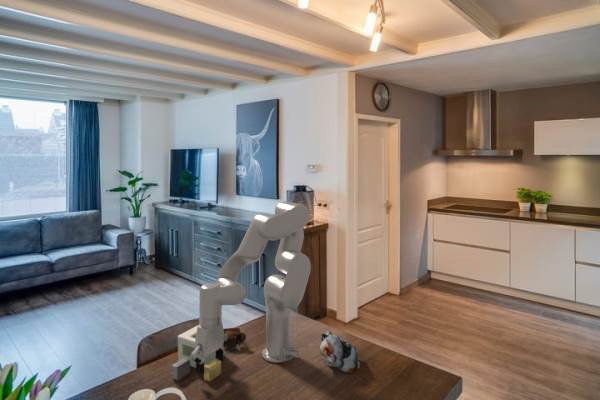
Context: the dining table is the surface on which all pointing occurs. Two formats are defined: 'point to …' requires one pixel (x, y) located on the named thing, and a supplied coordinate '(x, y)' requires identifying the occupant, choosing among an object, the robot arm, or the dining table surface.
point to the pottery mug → (231, 338)
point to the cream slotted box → (191, 347)
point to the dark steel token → (180, 369)
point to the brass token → (212, 369)
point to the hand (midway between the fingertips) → (210, 367)
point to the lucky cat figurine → (339, 353)
